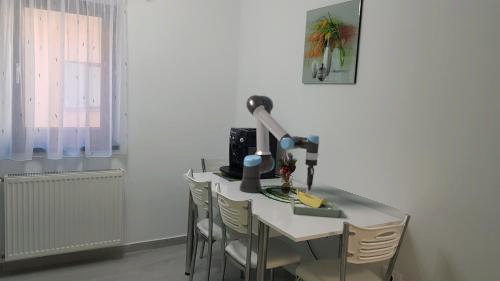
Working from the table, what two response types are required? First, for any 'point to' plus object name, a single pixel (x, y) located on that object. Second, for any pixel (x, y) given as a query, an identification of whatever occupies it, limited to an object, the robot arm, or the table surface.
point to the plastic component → (311, 199)
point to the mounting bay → (316, 210)
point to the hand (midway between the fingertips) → (308, 194)
